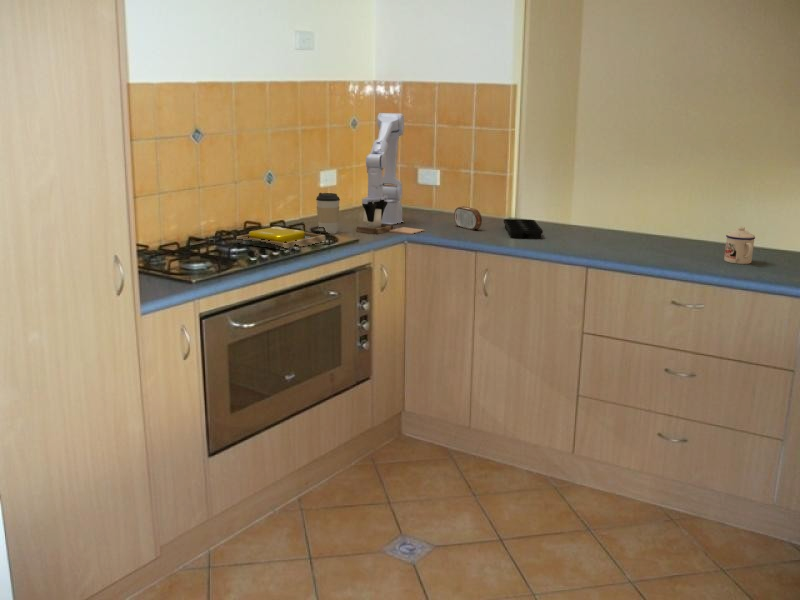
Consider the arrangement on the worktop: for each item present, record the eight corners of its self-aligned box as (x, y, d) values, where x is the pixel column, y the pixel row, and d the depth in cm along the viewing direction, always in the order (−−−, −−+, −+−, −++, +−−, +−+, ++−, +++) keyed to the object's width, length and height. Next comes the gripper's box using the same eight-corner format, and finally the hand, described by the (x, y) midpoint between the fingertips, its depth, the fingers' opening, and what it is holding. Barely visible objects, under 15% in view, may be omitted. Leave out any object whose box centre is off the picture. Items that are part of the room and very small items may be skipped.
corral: (278, 235, 320) (278, 228, 319) (325, 242, 308) (325, 235, 308) (236, 243, 302) (236, 236, 301) (285, 251, 290) (284, 243, 290)
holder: (373, 227, 341) (373, 223, 341) (392, 230, 336) (392, 225, 336) (356, 231, 332) (356, 226, 332) (376, 234, 327) (376, 229, 327)
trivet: (403, 228, 341) (403, 227, 341) (424, 231, 336) (424, 229, 336) (389, 231, 333) (389, 230, 333) (411, 234, 328) (411, 233, 328)
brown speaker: (482, 231, 340) (483, 209, 338) (475, 231, 339) (476, 210, 337) (458, 225, 352) (459, 204, 350) (452, 226, 351) (453, 205, 349)
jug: (360, 226, 335) (360, 208, 333) (367, 225, 339) (367, 207, 337) (376, 228, 331) (376, 210, 329) (383, 227, 335) (383, 209, 333)
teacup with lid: (718, 259, 294) (722, 225, 291) (742, 258, 295) (746, 225, 292) (736, 266, 282) (741, 231, 279) (762, 266, 284) (766, 230, 281)
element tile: (246, 243, 304) (246, 230, 303) (275, 238, 316) (274, 225, 315) (279, 249, 296) (278, 235, 295) (306, 243, 308) (306, 229, 307)
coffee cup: (341, 231, 332) (341, 192, 329) (337, 234, 324) (337, 194, 320) (318, 230, 333) (318, 191, 330) (313, 234, 325) (313, 194, 321)
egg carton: (512, 240, 322) (512, 230, 321) (489, 227, 351) (490, 218, 350) (556, 240, 325) (557, 230, 324) (531, 227, 354) (531, 218, 353)
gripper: (373, 188, 322) (372, 224, 325) (394, 184, 334) (393, 219, 337) (357, 186, 326) (357, 222, 329) (379, 183, 338) (378, 217, 341)
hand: (374, 220), depth 333 cm, fingers closed on jug, 5 cm apart
